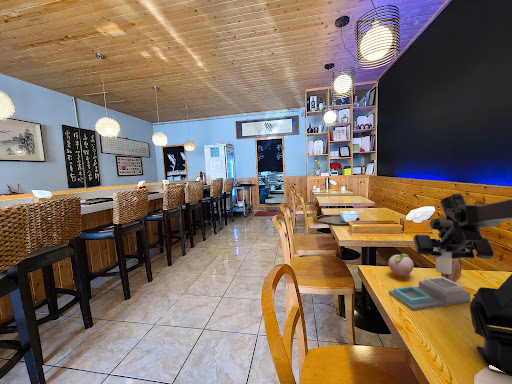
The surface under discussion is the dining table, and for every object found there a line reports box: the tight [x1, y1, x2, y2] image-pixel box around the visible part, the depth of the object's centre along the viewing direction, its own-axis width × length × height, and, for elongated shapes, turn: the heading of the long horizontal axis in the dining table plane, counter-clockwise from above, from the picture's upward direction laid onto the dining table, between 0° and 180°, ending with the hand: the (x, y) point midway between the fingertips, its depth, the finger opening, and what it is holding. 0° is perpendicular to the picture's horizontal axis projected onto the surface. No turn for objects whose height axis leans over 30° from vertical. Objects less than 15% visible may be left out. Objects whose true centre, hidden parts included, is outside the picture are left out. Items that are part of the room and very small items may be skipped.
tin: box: [440, 258, 462, 283], centre depth 84 cm, size 15×3×8 cm, turn 124°
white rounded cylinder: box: [435, 250, 452, 274], centre depth 73 cm, size 5×4×10 cm
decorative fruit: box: [387, 252, 415, 278], centre depth 87 cm, size 9×8×10 cm
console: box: [388, 276, 471, 312], centre depth 73 cm, size 21×10×4 cm, turn 99°
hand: (441, 256), depth 74 cm, fingers closed on white rounded cylinder, 4 cm apart
